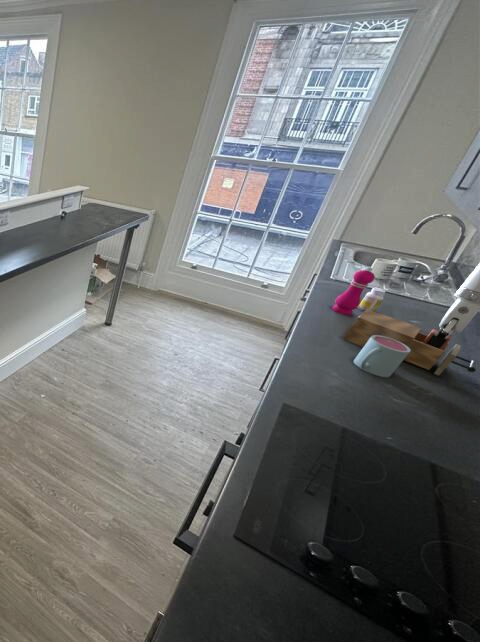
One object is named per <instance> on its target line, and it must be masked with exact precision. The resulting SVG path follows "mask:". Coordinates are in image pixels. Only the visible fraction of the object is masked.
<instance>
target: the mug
mask: <svg viewBox="0 0 480 642" xmlns="http://www.w3.org/2000/svg"><path fill="white" fill-rule="evenodd" d="M410 351H411V350H410V348H409V347H408V346H406V345H405V344H403V343H401V342H399V341H397V340H394V339H391V338H388V337H385V336H380V335H373V336H371V338H370V339H369V340H368V342H367V343H366V345H365V346H364V347H362V349H361V350H360V351H359V353H358V354H357V356H356V357H355V358H354V359H353V364H355V365H356V367H358V368H359V369H361V370H362V371H364V372H367V373H368V374H372V375H374V376H376V377H377V376H378V377H381V378H389V377H391V376H393V373H394V372H395V371H396V370H397V368H398V367H399V366H400V365H401V364H402V362H404V361H405V360H404V359H405V357H406V356H407V355H408V354H409V352H410Z"/></svg>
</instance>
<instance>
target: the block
mask: <svg viewBox="0 0 480 642" xmlns="http://www.w3.org/2000/svg"><path fill="white" fill-rule="evenodd" d="M437 331H438V329H434V328H433V329H432V330H431V331H430V332H429V334H427V335H428V336H427V338H426V339H425V340H424V341H423V343H425V344H426V343H427V342H428V340H429V339H430V338H431V337H432V336H433V334H434V335H435V334H436V333H437ZM452 337H453V335H452V334H450V336H449V337H448V338H447V341H446V342H445V343H444V344H443V345H442V346H441V348H440V349H441V350H442V348H443V347H444V346H445V345H446V344H447V343H449V342H450V340H451V339H452Z"/></svg>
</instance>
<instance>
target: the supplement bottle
mask: <svg viewBox="0 0 480 642" xmlns="http://www.w3.org/2000/svg"><path fill="white" fill-rule="evenodd" d="M386 293H387V291H386V290H384V289H382V288H379V287H372V289H371V290H370V291H369V292H367V293H366V294H365V296H364V297H363V299H362V300H361V301H360V304H359V306H358V309H359V310H360V311H363V312H365V311H366V310H367V309H369V310H371V311H374V312H376V311H377V309H378V308H379V306H380V305H381V303H382V302H383V301H384V295H385V294H386Z"/></svg>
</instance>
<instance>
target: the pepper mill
mask: <svg viewBox="0 0 480 642" xmlns="http://www.w3.org/2000/svg"><path fill="white" fill-rule="evenodd" d="M372 271H373V268H372V267H370V266H369V267H366V268H365V269H360V270H357V271H356V272H354V274H353V276H352V278H353V279H352V280H351V281H350V286H349V287H348V288H347V290H345V291H344V292H343V293H342V294H340V295H339V296H337V297H336V298H335V300H334V302H335V304H334V305H333V306H332V308H331V309H332V310H333V311H334V312H336V313H338V314H341V315H346V316H351V315H352V314H353V311H354V310H356V309H357V308H358V306H359V305H360V303H361V295H362V293H363V291H364V290H365V289H367V287H368V286H369V284H371V283H373V282H374V281H375V277H376V275H375V274H374V272H372ZM358 309H359V308H358Z"/></svg>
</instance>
